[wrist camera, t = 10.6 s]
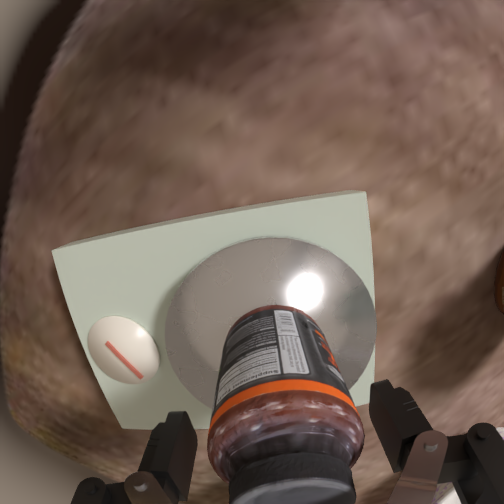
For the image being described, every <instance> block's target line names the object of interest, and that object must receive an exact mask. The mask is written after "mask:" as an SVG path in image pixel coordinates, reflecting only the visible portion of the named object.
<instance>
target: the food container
mask: <svg viewBox="0 0 504 504" xmlns="http://www.w3.org/2000/svg"><path fill="white" fill-rule="evenodd" d="M494 295H495V301H496V304H497V307H498V308H499V310H500V311H501V312H502V313H503V314H504V250H503V252H502V255H501V258H500V261H499V264H498V267H497V271H496V277H495V282H494Z"/></svg>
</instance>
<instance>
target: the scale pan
mask: <svg viewBox="0 0 504 504" xmlns="http://www.w3.org/2000/svg"><path fill="white" fill-rule="evenodd" d="M267 305H283V306H290V307H294V308H297V309H300V310H302V311H303V312H304V313H306V314H307V315H309V316H310V317H311V318H312V319H313V320H314V321H315V322H316V323H317V325H318V326H319V327H320V329H321V331H322V332H323V334H324V335H325V338H326V340H327V342H328V345H329V348H330V349H331V352H332V354H333V356H334V359H335V361H336V364H337V366H338V368H339V370H340V372H341V375H342V377H343V379H344V381H345V383H346V385H347V388H348V391H349V390H350V389H351V388H352V387H353V385H354V384H355V383H356V382H357V381H358V379H359V378H360V376H361V375H362V374H363V372H364V370H365V369H366V367H367V365H368V363H369V361H370V358H371V355H372V353H373V350H374V345H375V340H376V331H377V323H376V313H375V309H374V304H373V301H372V299H371V296H370V294H369V291H368V289H367V288H366V286H365V284H364V283H363V281H362V280H361V278H360V277H359V276H358V275H357V274H356V272H355V271H354V270H353V269H352V268H351V267H350V266H349V265H348V264H347V263H345V262H344V261H343V260H342V259H341V258H340V257H339V256H337V255H336V254H334V253H333V252H331V251H330V250H328V249H326V248H324V247H322V246H320V245H318V244H316V243H314V242H310V241H307V240H304V239H300V238H295V237H289V236H274V235H268V236H259V237H252V238H248V239H244V240H239V241H237V242H234V243H232V244H229V245H226V246H224V247H222V248H220V249H219V250H217V251H215V252H213V253H212V254H210V255H209V256H207V257H206V258H205V259H203V260H202V261H201V262H200V263H199V264H198V265H197V266H196V267H194V268H193V269H192V270H191V271H190V273H189V274H188V275H187V277H186V278H185V279H184V281H183V282H182V283H181V285H180V286H179V288H178V290H177V292H176V293H175V295H174V297H173V299H172V301H171V304H170V307H169V309H168V313H167V317H166V322H165V345H166V351H167V354H168V358H169V361H170V363H171V366H172V368H173V371H174V372H175V374H176V376H177V377H178V379H179V381H180V382H181V383H182V384H183V386H184V387H185V388H186V389H187V390H188V391H189V392H190V393H191V394H192V395H193V396H194V397H195V398H196V399H197V400H199V401H200V402H201V403H203V404H204V405H206V406H207V407H209V408H211V409H213V403H214V397H215V391H216V385H217V380H218V374H219V368H220V362H221V357H222V351H223V346H224V343H225V340H226V337H227V334H228V332H229V330H230V328H231V327H232V326H233V324H234V323H235V322H236V321H237V320H238V319H239V318H241V317H242V316H243V315H244V314H246V313H248V312H250V311H251V310H254V309H256V308H260V307H263V306H267Z"/></svg>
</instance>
